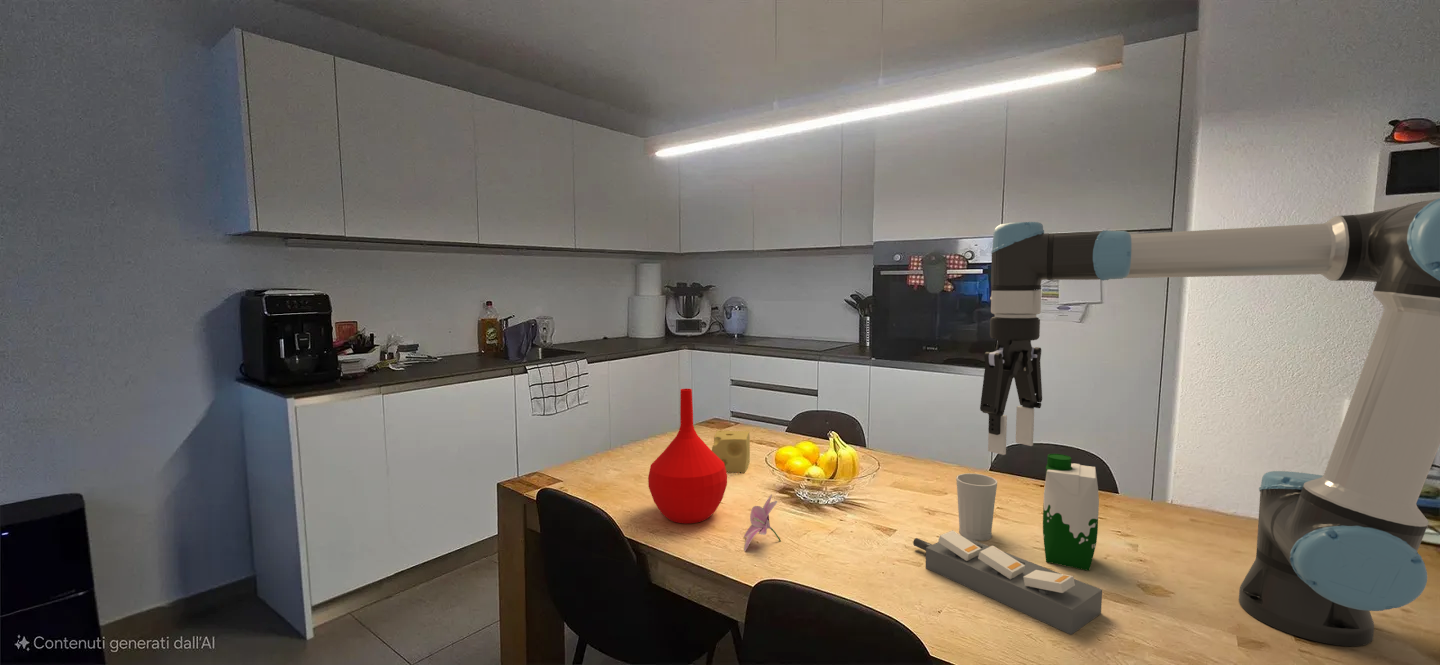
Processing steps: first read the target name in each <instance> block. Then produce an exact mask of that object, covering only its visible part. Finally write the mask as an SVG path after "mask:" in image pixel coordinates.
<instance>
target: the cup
mask: <svg viewBox="0 0 1440 665" xmlns="http://www.w3.org/2000/svg"><path fill="white" fill-rule="evenodd" d="M955 480H956V493H957V494H956V495H957V508H958V509H957V511H958V525H959V528H958V530H959V532H958V534H960V535H962V536H964V537H967V538H969V539H972V540H975V541H977V542H979V541H980V542H982V541H983V542H984V541H988V540H991V538H992V532H993V530H992V529H993V519H994V513H995V505H996V504H995V503H996V495H997V487H998V480H997V479H996V478H994V477H993V476H989V475H986V474H981V473H971V472H969V473H968V472H967V473H961V474H958V475H957V476H956V478H955Z"/></svg>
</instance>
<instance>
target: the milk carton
mask: <svg viewBox="0 0 1440 665" xmlns="http://www.w3.org/2000/svg"><path fill="white" fill-rule="evenodd" d="M1046 457H1047V459H1046V464H1045V482H1044V492H1043V505H1042V506H1043V507H1042V509H1043V510H1042V513H1043V514H1042V537H1043V538H1042V539H1043V546H1044V555H1045V562H1046V563H1050V564H1054V565H1059V566H1064V567H1068V568H1073V569H1078V570H1081V571H1082V570H1083V571H1087V572H1090V571H1091V567H1092V566H1091V565H1092V562H1093V559H1094V556H1095V555H1094V554H1095V551H1096V547H1097V542H1098V533H1099V532H1098V531H1099V530H1098V529H1099V528H1098V527H1099V510H1100V508H1099V506H1100V497H1099V486H1098V485H1099V484H1098V478H1097V477H1098V476H1097V471H1096V466H1089V465H1082V464H1080V463H1072V457H1071V456H1069V455H1066V454H1060V453H1048V454H1047V456H1046Z"/></svg>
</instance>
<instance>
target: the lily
mask: <svg viewBox="0 0 1440 665" xmlns="http://www.w3.org/2000/svg"><path fill="white" fill-rule="evenodd" d="M772 496H773V494H770V496H769V497H768V498H767V499H766V501H765V503H764V504H763V506H760V505H754V506H753V507H752V508H751V511H750V516H749V520H750V523H751V525H750V526H749V528H748V529H747V530H746V531H745V533H744V535H743V538H746V540H745V541H744V542H745V543H744V548H743V549H744V552H746V550H748V547H749V545H750V543H751V542H752V540H753V539H754V537H755V536H756V535H757V534H758V535H760V536H761V535H762V536H765V535H767V534H768V533H767V532H768V529H769V530H771V531H772V533H774V535H775V536H776V538H777V539H778V541H779V542H782V540H781V538H780V536H779V535H778V534H777V533H776V531H775V530H774V529H773V528H772V527H771V523H770V513H771V511H772V510H773V509H774V507H775V506H776V505H777V504H778V501H777V500H774V501H771V499H772Z"/></svg>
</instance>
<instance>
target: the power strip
mask: <svg viewBox="0 0 1440 665" xmlns="http://www.w3.org/2000/svg"><path fill="white" fill-rule="evenodd" d="M961 536H962V535H961ZM963 537H964V536H963ZM964 538H966V539H967V540H969V541H971V542H972V543H974V544H975V545H977V546H978V547H980V548H981V551H982V550H984V549H986V548H988V547H991V546H989V545H987V544H984V543H982V542H981V541H980V542H979V541H977V540H972V539H969V538H967V537H964ZM912 544H913V546H914V547H915V548H916V547H917V548H919V549H921V550H923V551H925V568H926V569H927V570H929V571H932V572H933V573H936V574H938V575H940V576H942V577H944V578H947V579H949V580H951V581H952V582H955V583H958V584H960V585H962V586H964V587H966V588H968V589H970V590H973V591H975V592H977V593H979V594H982V595H983V596H986V597H988V598H990V599H992V600H994V601H997V602H999V603H1001V604H1003V605H1005V606H1008V607H1010V608H1012V609H1014V610H1016V611H1019V612H1020V613H1022V614H1025V615H1026V616H1030V617H1031V618H1034V619H1036V620H1038V621H1040V622H1042V623H1045V624H1047V625H1048V626H1051V627H1053V628H1055V629H1057V630H1060V631H1061V632H1064V633H1066V634H1068V635H1070V636H1072V635H1074V633H1076V632H1077V631H1079V630H1080V629H1081V628H1083V627H1084V626H1086V625H1087V624H1088V623H1090V622H1091V621H1092V620H1094V619H1096V617H1098V616H1099V615H1101V614H1102V604H1103V602H1102V601H1103V589H1102V588H1099V587H1096V586H1094V585H1092V584H1089V583H1086V582H1083V581H1081V580H1079V579H1075V578H1074V583H1075V586H1073V587H1071V588H1070V589H1068V590H1067V591H1065V592H1063V593H1060V592H1055V591H1050V590H1045V589H1040V588H1035V587H1030V586H1025V583H1024V578H1023V577H1024V576H1026V575H1027V574H1029V573H1031V572H1033V571H1035V570H1040V571H1046V572H1052V573H1058V574H1061V573H1060V572H1058V571H1056V570H1052V569H1051V568H1050V569H1049V568H1046V567H1045V566H1041V565H1039V564H1037V563H1034V562H1031V561H1030V560H1026V559H1024V558H1021V557H1019V556H1016V555H1013V554H1010V553H1009V552H1007V551H1003V552H1004V553H1006V554H1007V555H1009V556H1011V557H1012V558H1014V559H1015V560H1017V561H1019V562H1020V563H1022V564H1023V565H1025V568H1024V571H1023V573H1021V574H1019V575H1017V576H1016V577H1014V578H1012V579H1009V578H1007V577H1006V576H1004V575H1003V574H1001V573H1000V572H998V571H997V570H995V569H994V568H992V567H990V566H989V565H987V564H986V563H984V562H983V561H981V560H980V559H978V557H979V555H978V556H976V557H974V558H972V559H970V560H968V561H966V560H964V559H963V558H961V557H960V556H958V555H957V554H955V553H954V552H952V551H951V550H949V549H948V548H946V547H945V546H943V545H942V544H940V543H939V542H938V541H937V542H935V543H934V544H932V543H930V542H927V541H925V540H922V539H920V538H918V537H916V538H914V539H913V543H912Z"/></svg>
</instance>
